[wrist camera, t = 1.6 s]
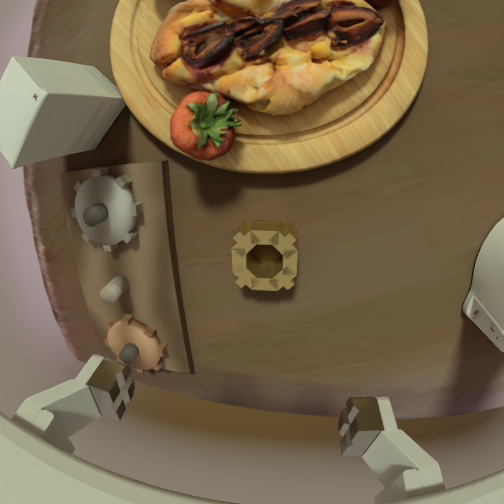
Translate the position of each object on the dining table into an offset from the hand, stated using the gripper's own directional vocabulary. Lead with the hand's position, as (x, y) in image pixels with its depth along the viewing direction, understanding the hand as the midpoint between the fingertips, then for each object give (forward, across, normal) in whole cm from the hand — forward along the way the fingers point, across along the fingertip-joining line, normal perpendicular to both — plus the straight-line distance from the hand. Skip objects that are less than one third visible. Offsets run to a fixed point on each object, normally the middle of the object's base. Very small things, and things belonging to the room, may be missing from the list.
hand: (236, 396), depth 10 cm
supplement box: (+22, +20, -11) cm, 32 cm away
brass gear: (+21, 0, +3) cm, 22 cm away
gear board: (+22, +16, +9) cm, 29 cm away
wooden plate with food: (+22, +2, -21) cm, 30 cm away
